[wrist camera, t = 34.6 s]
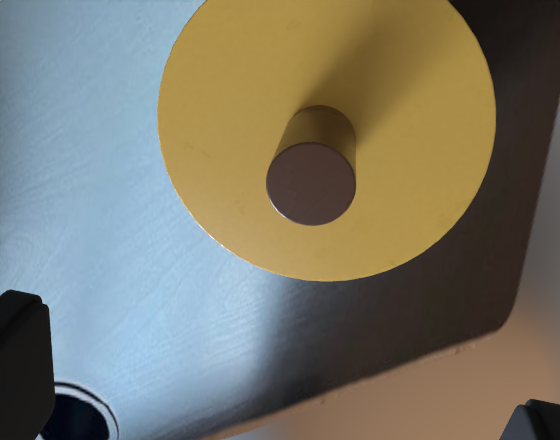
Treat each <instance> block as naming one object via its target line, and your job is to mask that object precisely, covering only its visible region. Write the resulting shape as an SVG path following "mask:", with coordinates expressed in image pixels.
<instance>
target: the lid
mask: <svg viewBox="0 0 560 440" xmlns="http://www.w3.org/2000/svg"><path fill="white" fill-rule="evenodd" d="M157 114H158V134H159V141H160V147H161V152H162V156H163V159H164V163H165V166H166V170H167V172H168V175H169V177H170V179H171V182H172V184H173V187H174V189H175V190H176V192H177V194H178V196H179V197H180V199H181V201H182V203H183V204H184V206H185V207H186V209H187V210H188V211H189V213H190V214H191V215H192V217H193V218H194V219H195V221H196V222H197V223H198V224H199V225H200V226H201V227H202V228H203V229H204V230H205V231H206V232H207V233H208V235H210V236H211V237H212V238H213V239H214V240H216V241H217V242H218V243H219V244H220V245H221V246H223V247H224V248H225V249H227V250H228V251H230V252H231V253H233V254H234V255H236V256H237V257H239V258H241V259H243V260H245V261H247V262H249V263H251V264H253V265H254V266H257V267H259V268H262V269H264V270H267V271H270V272H272V273H275V274H279V275H283V276H287V277H291V278H297V279H303V280H310V281H340V280H351V279H356V278H362V277H367V276H371V275H374V274H377V273H380V272H384V271H387V270H389V269H392V268H394V267H396V266H398V265H401V264H403V263H405V262H407V261H409V260H410V259H412V258H414V257H415V256H417V255H419V254H421V253H422V252H424V251H425V250H426V249H428V248H429V247H430V246H432V245H433V244H434V243H435V242H437V241H438V240H439V239H440V238H441V237H442V236H443V235H444V234H445V233H446V232H448V231H449V230H450V229H451V228H452V227H453V226H454V224H455V223H456V222H457V221H458V219H459V218H460V217H461V216H462V214H463V213H464V212H465V211H466V209H467V208H468V206H469V205H470V203H471V201H472V200H473V198H474V196H475V195H476V193H477V191H478V189H479V187H480V185H481V183H482V180H483V178H484V176H485V174H486V171H487V168H488V164H489V161H490V157H491V154H492V151H493V144H494V137H495V131H496V102H495V95H494V87H493V81H492V78H491V75H490V71H489V68H488V64H487V61H486V58H485V56H484V54H483V52H482V49H481V47H480V45H479V43H478V41H477V38H476V37H475V35H474V34H473V32H472V31H471V29H470V28H469V26H468V24H467V23H466V21H465V20H464V18H463V17H462V16H461V15H460V14H459V12H458V11H457V10H456V9H455V8H454V7H453V6H452V5H451V3H450V2H449V1H448V0H206V1H205V2H204V3H203V4H202V5H201V6H200V7H199V8H198V9H197V11H196V12H195V13H194V14H193V16H192V17H191V18H190V20H189V21H188V22H187V24H186V25H185V26H184V28H183V30H182V31H181V33H180V35H179V37H178V38H177V40H176V42H175V44H174V46H173V48H172V50H171V53H170V55H169V58H168V60H167V63H166V65H165V69H164V73H163V77H162V81H161V85H160V90H159V99H158V108H157Z"/></svg>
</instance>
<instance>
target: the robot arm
mask: <svg viewBox="0 0 560 440" xmlns="http://www.w3.org/2000/svg"><path fill="white" fill-rule="evenodd" d="M54 405H55V387H54V373H53V359H52V345H51V331H50V317H49V308H48V306H47V305H46V304H42V299H41V297H40V296H38V295H35V294H30V293H25V292H20V291H15V290H7V291H6V292H4V293H3V294H2V295H1V296H0V440H35V439H36V437H37V436H38V434H39V433H40V431H41V430H42V428H43V427H44V426H45V424H46V423H47V421H48V420H49V418H50V416H51V414H52V412H53V409H54ZM499 440H560V405H559V404H554V403H549V402H545V401H540V400H535V399H530V400H528V401H527V402H526V404H525V405H518V406H517V407H516V408H515V410H514V412H513V414H512V416H511V418H510V420H509V422H508V424H507V426H506V428H505V429H504V432H503V433H502V435H501V437H500V439H499Z"/></svg>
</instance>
